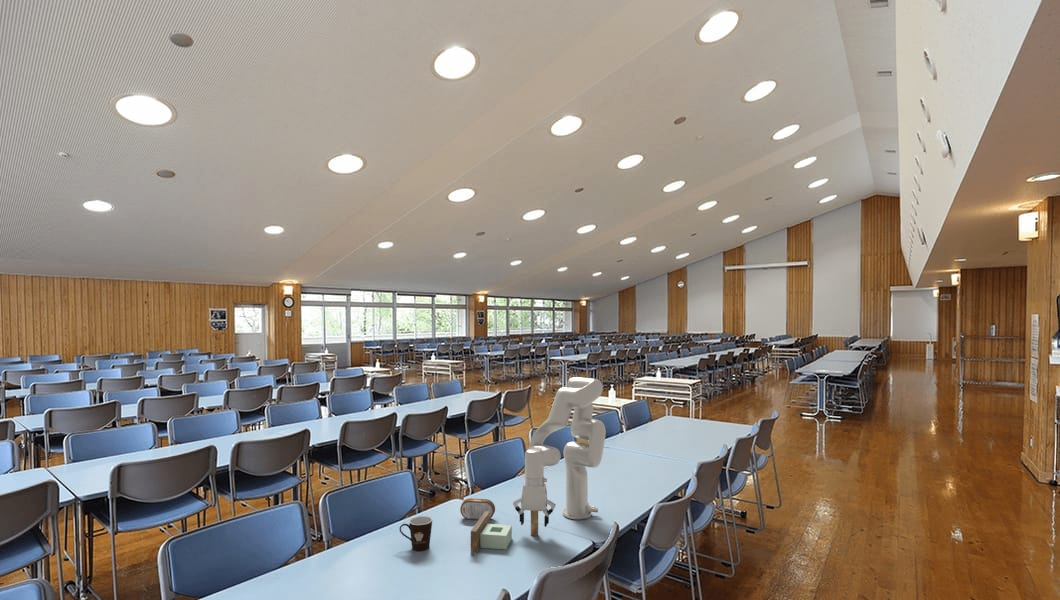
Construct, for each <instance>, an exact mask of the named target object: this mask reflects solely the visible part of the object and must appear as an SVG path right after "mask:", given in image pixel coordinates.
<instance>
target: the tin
mask: <svg viewBox="0 0 1060 600" xmlns="http://www.w3.org/2000/svg"><path fill="white" fill-rule="evenodd" d="M485 511H489V512H490V519H492V517H493V516H494V515H495V512H496V506H495V503H494V502H493V501H492V500H491V499H487V498H466V499H465V500H463V501H462V503H461V505H460V511H459V512H460V514H461V516H462V517H463V518H464V519H465V520H475V521H478V520H479V519H480V517H481V516H482V515H483V513H484V512H485Z"/></svg>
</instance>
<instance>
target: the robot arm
mask: <svg viewBox="0 0 1060 600" xmlns="http://www.w3.org/2000/svg"><path fill="white" fill-rule="evenodd" d="M566 386H567V387H565V386H563V387H560V388H559V389H558V390H557V391H556V393H555V397H554V400H553V403H552V406H551V408H550V411H549V414H548V416H547V417H548V418H547V419H546V420H545V421H544V422H543V423H541V424H540V426H539V427H538V428H536V430H535V431H534V432H533V434H532V436H531V438H530V442H529V446H528V449H526V451H525V452H524V483H523V484H522V489H521V490H522V491H521V497H520V498H518V499H516V500H514V501H513V502H512V505H513V507H514V509H515V510H516V512H517V513H518V515H519V523H520V525H521V526H523V525H524V523H525V512H524V511H530V512H531V511H538V512H543V514H544V518H543V519H544V524H543V525H544V527H547V526H548V525H549V522H550V521H549V520H550V517H549V516H550V515H551V514H552V513H553V511H554V509H555V508H556V506H557V505H556V503H554V502H553V501H551V500H549V499H548V491H547V485H546V483H547V482H548V478H546V477H545V475H544V474H545V473H544V472H545V470H544V468H545V467H554V466H556V465H558V464H559V462H560V460H561V458H562V454H561V451H560V450H559V449H558V448H557V447H554V446H550V445H546V444H544V442H545V440H546V438H547V437H548V436H549V435H551V434H553V433H554V432H557V431H559V430H560V431H561V430H562V429H564V428H566V427H567V426H568V423H569V420H570V417H571V413H572V410H573V414H572V419H571V427H570V434H571V436H572V437H573V438H576V439H579V440H583V441H588V443H585V442H580V441H573V440H572V441H569V442H567V443H566V444H565V446H564V448H563V452H562V453H563V458H564V459H563V460H564V464H565V495H566V496H565V497H566V498H565V499H566V500H565V501H566V502H565V504H566V505H565V509H563V510H562V516H564V518H567V519H571V520H577V521H578V520H586V519H588V518H590V517H592V513H599V507H596V506H595V505H592V506H591V505H590V503H589V501H588V498H589V495H588V493H589V492H588V491H589V488H588V487H589V486H588V484H589V483H588V482H589V481H588V480H589V479H588V477H589V476H588V471H587V468H590V469H591V468H592V469H593V468H597V467H599V466H600V464H601V463H602V458H603V453H604V447H605V442H606V441H605V440H606V433H607V431H606V426H605V424H604V422H602V421H601V420H599V419H596V418H593V413H594V406H593V403H594V402H595V401H596V400H597V399H599V398H600V397H601V395H602V393H603V390H604V385H603V383H602V382H601V380H599V379H597V378H594V377H593V378H592V377H582V376H581V377H580V376H574V377H569V379H568V380H567V383H566ZM519 504H520V506H519ZM548 506H550V508H549V509H548ZM520 507H521V508H520Z"/></svg>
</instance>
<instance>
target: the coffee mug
mask: <svg viewBox="0 0 1060 600" xmlns="http://www.w3.org/2000/svg"><path fill="white" fill-rule="evenodd" d="M408 522H409V524H407V523H402V524H401V525H400V526H399V532H400V534H401V535H402V536H403V537H405V538H406V539H408V540H409V541H410V542H411V549H412V550H413V551H414V552H415V551H416V552H423V551H427V550H428V549H430V546H431V545H430V543H431V537H432V527H433V518H432V517H431V516H427V515H426V516H425V515H420V516H415V517H412V518H411V519H409V521H408ZM404 526H407V527H408V529H409V533H410V537H409V535H407V534H405V533H404V532H403V531H402V527H404Z"/></svg>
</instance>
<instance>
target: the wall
mask: <svg viewBox="0 0 1060 600" xmlns="http://www.w3.org/2000/svg"><path fill="white" fill-rule="evenodd" d="M490 519H491V518H490V512H489V511H485V512H484V513H483V515H482V516H481V517H480V519H479V520H477V522H476V523H475V525H474V526H472V528H471V530H470V554H472V555H475V554H477V553H478V551H479V550H480V534H481V532H482V531H483V529H484V528H485V526H486V525H487V524H491V523H490V521H491V520H490Z"/></svg>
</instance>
